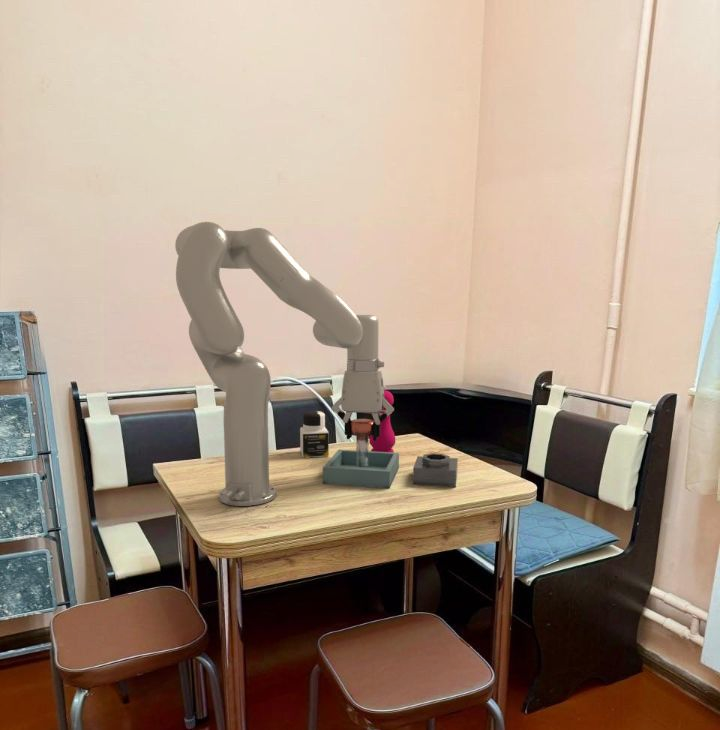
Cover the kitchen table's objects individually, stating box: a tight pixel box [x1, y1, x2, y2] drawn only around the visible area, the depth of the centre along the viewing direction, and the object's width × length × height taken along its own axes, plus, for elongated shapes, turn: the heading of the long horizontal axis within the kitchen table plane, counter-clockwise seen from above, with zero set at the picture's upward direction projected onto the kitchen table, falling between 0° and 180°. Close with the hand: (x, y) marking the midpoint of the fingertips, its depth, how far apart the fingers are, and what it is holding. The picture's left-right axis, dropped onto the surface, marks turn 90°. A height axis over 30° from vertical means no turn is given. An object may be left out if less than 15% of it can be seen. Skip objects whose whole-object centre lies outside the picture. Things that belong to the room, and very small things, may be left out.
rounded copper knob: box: [350, 418, 375, 467], centre depth 143 cm, size 6×6×11 cm
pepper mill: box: [369, 384, 396, 453], centre depth 160 cm, size 7×7×20 cm
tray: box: [322, 448, 400, 489], centre depth 144 cm, size 16×16×4 cm
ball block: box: [412, 452, 459, 488], centre depth 141 cm, size 10×10×6 cm
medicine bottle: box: [299, 410, 330, 459], centre depth 162 cm, size 7×7×12 cm
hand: (362, 437), depth 143 cm, fingers closed on rounded copper knob, 6 cm apart
